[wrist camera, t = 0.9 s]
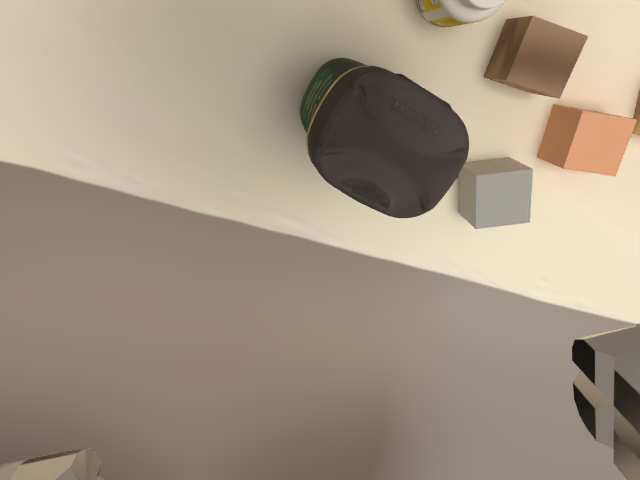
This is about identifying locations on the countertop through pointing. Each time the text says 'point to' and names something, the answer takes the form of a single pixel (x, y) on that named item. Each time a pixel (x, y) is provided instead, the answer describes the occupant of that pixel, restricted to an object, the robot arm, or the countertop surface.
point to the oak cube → (637, 117)
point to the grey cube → (495, 192)
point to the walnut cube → (535, 56)
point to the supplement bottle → (457, 11)
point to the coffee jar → (382, 137)
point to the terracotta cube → (585, 140)
